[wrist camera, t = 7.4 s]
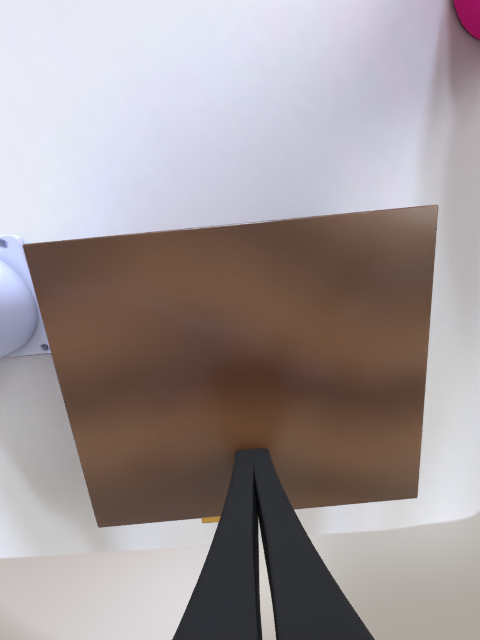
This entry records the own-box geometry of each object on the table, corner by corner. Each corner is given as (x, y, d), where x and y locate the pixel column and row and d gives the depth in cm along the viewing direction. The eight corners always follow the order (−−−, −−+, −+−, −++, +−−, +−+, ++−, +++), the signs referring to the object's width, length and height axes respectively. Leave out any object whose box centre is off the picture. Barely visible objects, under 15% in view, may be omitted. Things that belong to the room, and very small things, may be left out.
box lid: (404, 482, 11) (418, 498, 10) (107, 510, 11) (97, 528, 10) (420, 210, 9) (439, 203, 8) (40, 247, 9) (20, 244, 8)
